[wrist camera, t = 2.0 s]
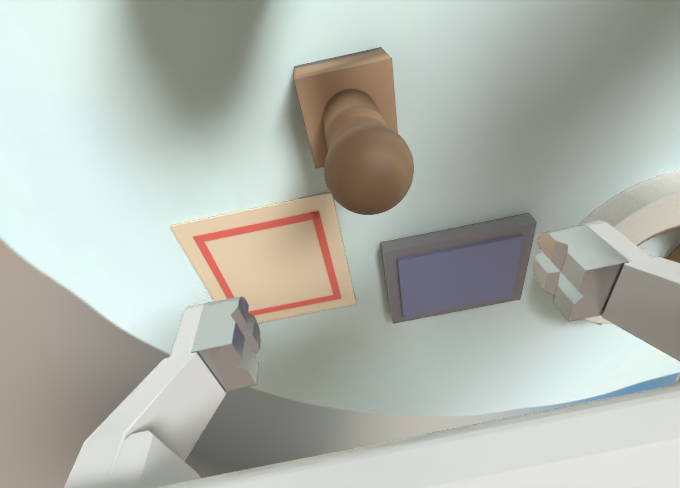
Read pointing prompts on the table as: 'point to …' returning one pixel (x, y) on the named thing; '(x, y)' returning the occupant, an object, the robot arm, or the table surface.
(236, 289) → the tan card
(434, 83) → the table surface
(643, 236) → the roll of tape
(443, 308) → the ink pad
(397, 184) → the walnut stamp
